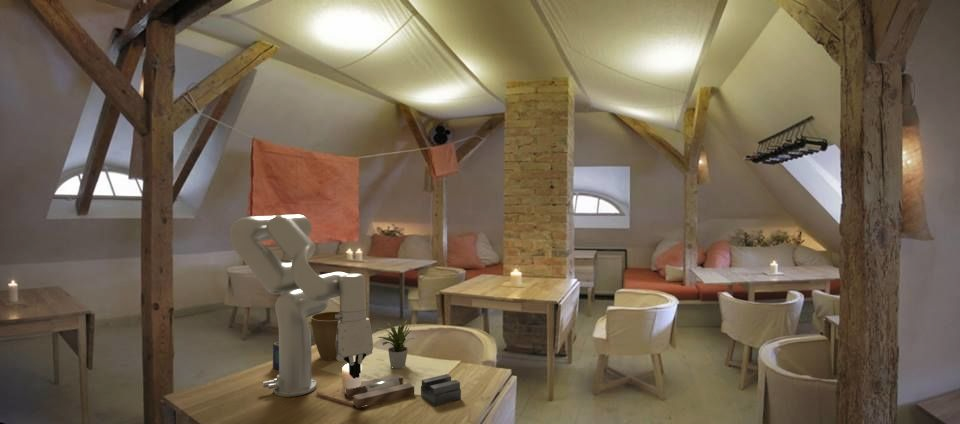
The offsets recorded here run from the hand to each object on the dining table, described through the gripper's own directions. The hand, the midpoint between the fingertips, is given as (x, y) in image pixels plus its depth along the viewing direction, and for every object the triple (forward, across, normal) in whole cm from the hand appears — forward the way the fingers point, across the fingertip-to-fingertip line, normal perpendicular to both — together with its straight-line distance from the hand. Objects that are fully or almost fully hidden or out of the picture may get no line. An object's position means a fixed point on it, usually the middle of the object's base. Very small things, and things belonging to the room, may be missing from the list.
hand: (355, 376), depth 137 cm
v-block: (+8, +23, -11) cm, 27 cm away
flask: (+6, -13, +39) cm, 42 cm away
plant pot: (+6, +5, +43) cm, 44 cm away
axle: (+8, +9, +1) cm, 12 cm away
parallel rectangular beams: (+8, +8, +1) cm, 11 cm away
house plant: (+8, +23, +22) cm, 33 cm away
